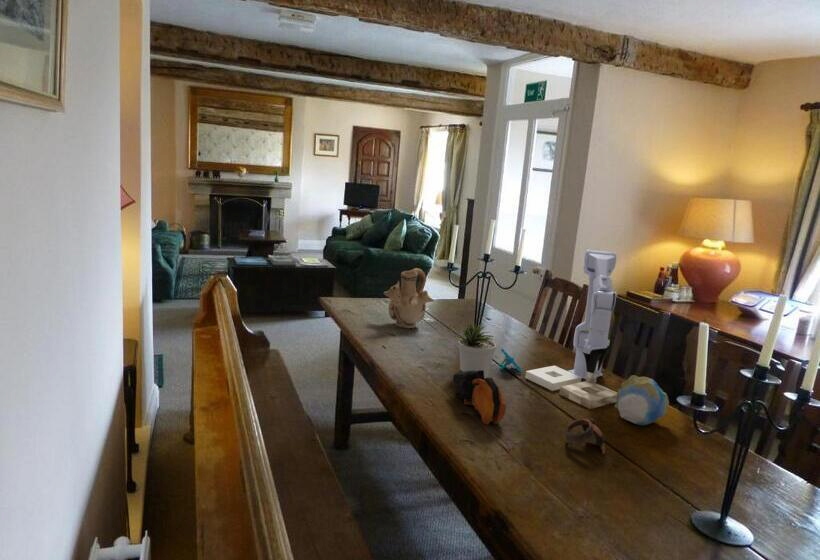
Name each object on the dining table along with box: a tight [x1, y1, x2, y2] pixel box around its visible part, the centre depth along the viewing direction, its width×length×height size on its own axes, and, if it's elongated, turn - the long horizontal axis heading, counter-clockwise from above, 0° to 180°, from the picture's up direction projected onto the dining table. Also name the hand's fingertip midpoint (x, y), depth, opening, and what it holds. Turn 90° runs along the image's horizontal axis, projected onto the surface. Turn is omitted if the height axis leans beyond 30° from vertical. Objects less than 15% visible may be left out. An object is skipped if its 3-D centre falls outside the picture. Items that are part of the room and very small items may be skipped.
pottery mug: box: [564, 417, 606, 455], centre depth 144 cm, size 12×10×8 cm
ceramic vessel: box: [383, 267, 435, 329], centre depth 238 cm, size 18×19×25 cm
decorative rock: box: [614, 375, 670, 426], centre depth 162 cm, size 14×16×15 cm
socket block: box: [524, 365, 583, 392], centre depth 188 cm, size 14×12×2 cm
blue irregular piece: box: [499, 348, 522, 372], centre depth 196 cm, size 11×6×10 cm
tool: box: [452, 370, 507, 426], centre depth 160 cm, size 8×23×15 cm, turn 19°
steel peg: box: [585, 360, 599, 384], centre depth 175 cm, size 3×3×9 cm
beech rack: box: [559, 380, 618, 410], centre depth 176 cm, size 14×12×2 cm
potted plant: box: [454, 319, 497, 379], centre depth 186 cm, size 13×14×20 cm
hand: (592, 371), depth 175 cm, fingers closed on steel peg, 3 cm apart
